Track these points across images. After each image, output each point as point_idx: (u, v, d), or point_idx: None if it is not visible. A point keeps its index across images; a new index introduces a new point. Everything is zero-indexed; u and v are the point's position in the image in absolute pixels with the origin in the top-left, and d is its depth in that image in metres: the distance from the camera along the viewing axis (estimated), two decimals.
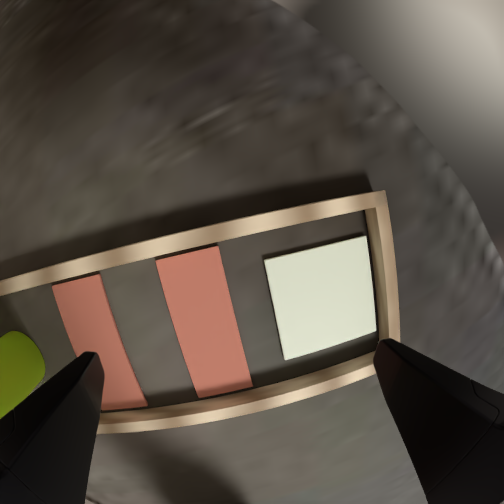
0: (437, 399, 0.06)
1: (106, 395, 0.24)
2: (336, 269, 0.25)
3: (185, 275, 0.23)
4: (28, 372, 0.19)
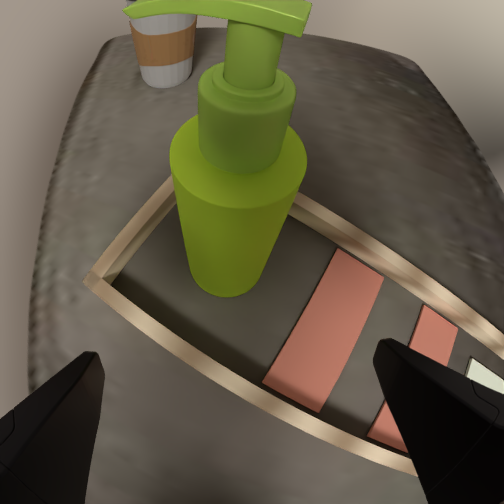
0: (437, 399, 0.06)
1: (289, 371, 0.21)
2: None
3: (434, 329, 0.24)
4: (262, 269, 0.21)
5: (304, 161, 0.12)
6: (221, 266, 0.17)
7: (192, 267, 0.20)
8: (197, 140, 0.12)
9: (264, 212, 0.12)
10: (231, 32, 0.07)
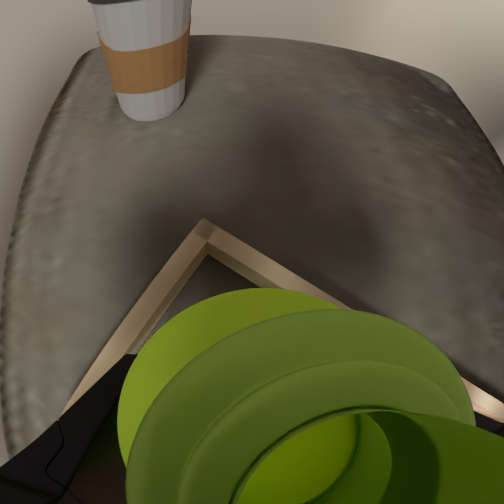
0: None
1: None
2: None
3: None
4: None
5: None
6: None
7: None
8: None
9: None
10: None
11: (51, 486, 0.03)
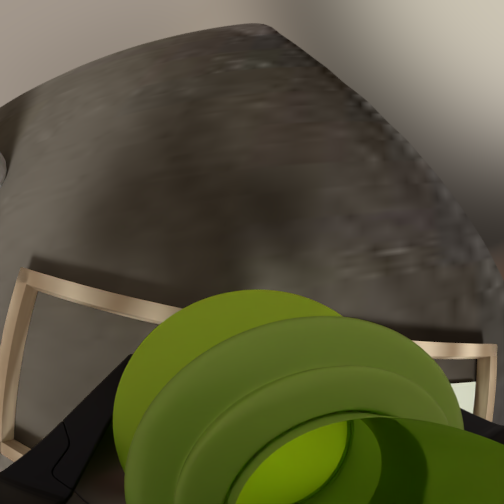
0: None
1: None
2: None
3: None
4: None
5: None
6: None
7: None
8: None
9: None
10: None
11: (58, 488, 0.03)
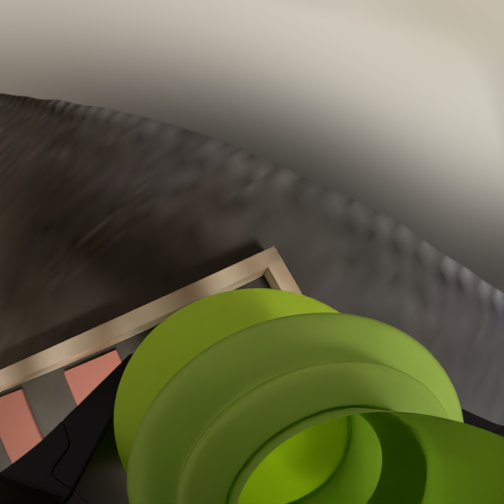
0: None
1: None
2: None
3: (91, 383, 0.19)
4: None
5: None
6: None
7: None
8: None
9: None
10: None
11: (58, 488, 0.03)
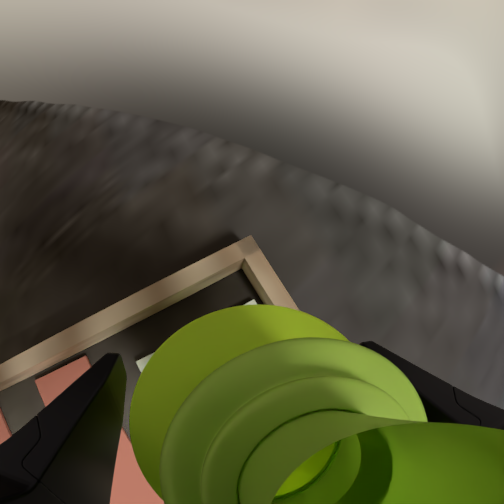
0: None
1: None
2: None
3: None
4: None
5: None
6: None
7: None
8: None
9: None
10: None
11: (25, 477, 0.03)
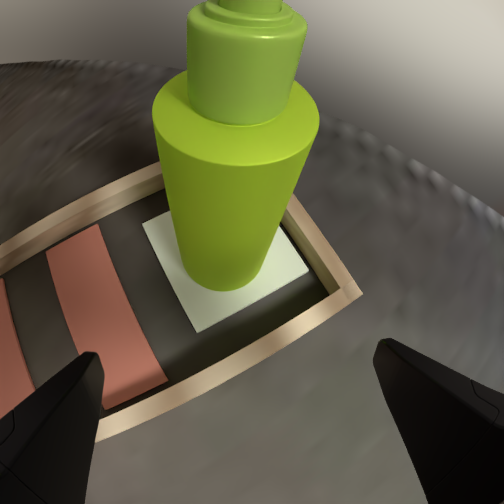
0: (437, 399, 0.06)
1: None
2: None
3: (70, 257, 0.20)
4: (263, 259, 0.18)
5: (316, 118, 0.10)
6: (214, 251, 0.14)
7: (182, 255, 0.18)
8: (186, 91, 0.09)
9: (267, 174, 0.09)
10: None
11: None
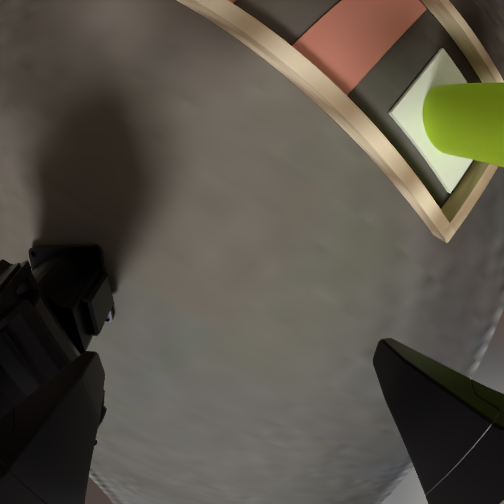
0: (437, 399, 0.06)
1: None
2: None
3: None
4: (466, 156, 0.17)
5: None
6: (485, 123, 0.13)
7: (453, 92, 0.15)
8: None
9: None
10: None
11: None
